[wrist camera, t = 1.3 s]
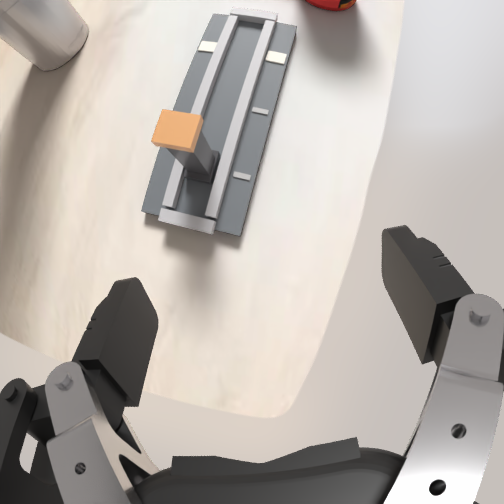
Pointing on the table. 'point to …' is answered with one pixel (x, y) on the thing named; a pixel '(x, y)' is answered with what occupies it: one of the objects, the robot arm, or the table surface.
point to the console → (225, 120)
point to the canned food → (332, 4)
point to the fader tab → (187, 144)
